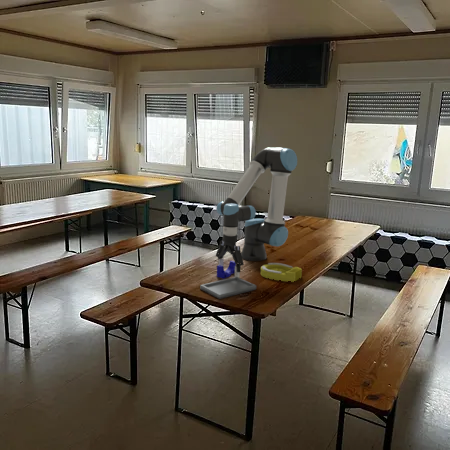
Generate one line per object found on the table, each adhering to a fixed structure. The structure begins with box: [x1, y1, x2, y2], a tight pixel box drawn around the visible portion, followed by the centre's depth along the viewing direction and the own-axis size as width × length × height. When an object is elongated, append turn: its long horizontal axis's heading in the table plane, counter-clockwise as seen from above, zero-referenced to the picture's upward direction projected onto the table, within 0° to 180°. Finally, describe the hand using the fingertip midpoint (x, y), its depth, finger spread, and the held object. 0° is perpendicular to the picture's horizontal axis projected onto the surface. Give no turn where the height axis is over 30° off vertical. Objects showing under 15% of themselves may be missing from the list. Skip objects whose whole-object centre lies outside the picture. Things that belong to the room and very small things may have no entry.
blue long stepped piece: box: [216, 260, 236, 280], centre depth 235 cm, size 12×4×6 cm, turn 142°
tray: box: [199, 276, 257, 300], centre depth 215 cm, size 22×15×2 cm
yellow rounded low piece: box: [260, 262, 303, 283], centre depth 237 cm, size 16×21×5 cm
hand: (228, 274), depth 235 cm, fingers open, 13 cm apart
